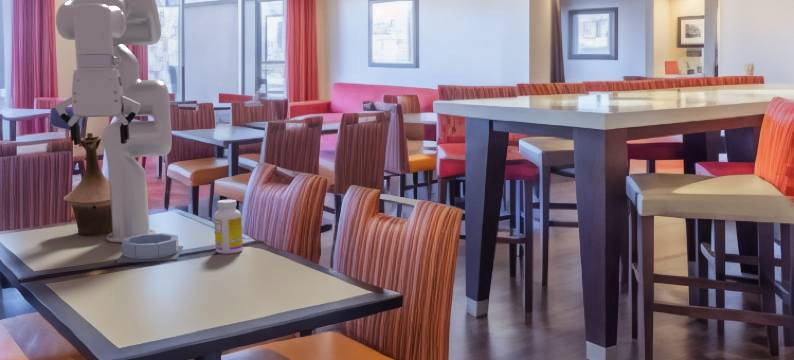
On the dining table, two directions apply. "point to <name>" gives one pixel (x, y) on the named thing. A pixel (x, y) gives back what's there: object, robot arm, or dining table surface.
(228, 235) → the supplement bottle
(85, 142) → the brown tall tapered piece
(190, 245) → the dining table surface
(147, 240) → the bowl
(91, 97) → the robot arm
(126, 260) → the mat
